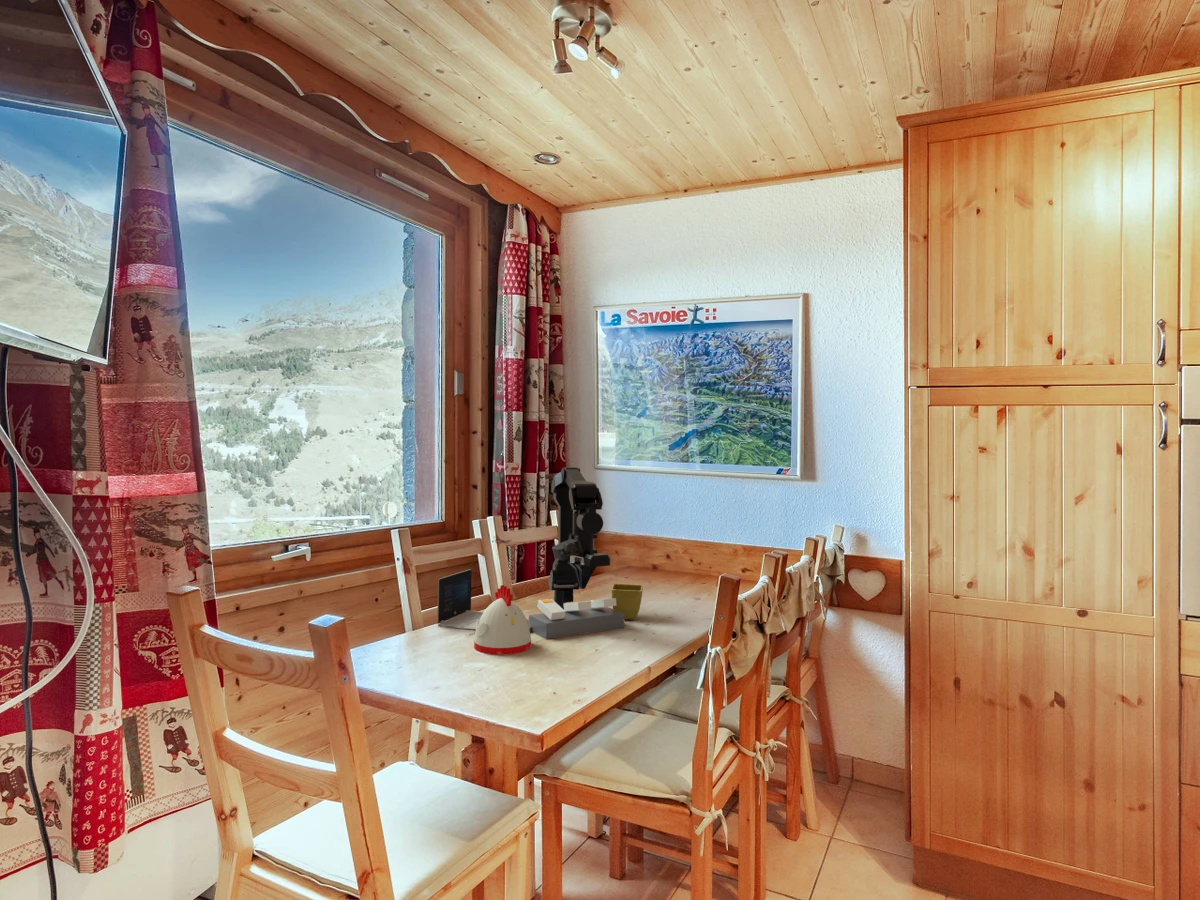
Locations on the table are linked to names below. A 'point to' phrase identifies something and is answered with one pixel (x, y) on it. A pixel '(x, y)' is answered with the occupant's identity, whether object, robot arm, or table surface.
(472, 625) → the laptop
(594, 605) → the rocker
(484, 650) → the kitchen timer
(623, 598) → the flower pot
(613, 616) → the power strip
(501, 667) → the table surface
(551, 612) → the rocker
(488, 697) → the table surface
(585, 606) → the block
